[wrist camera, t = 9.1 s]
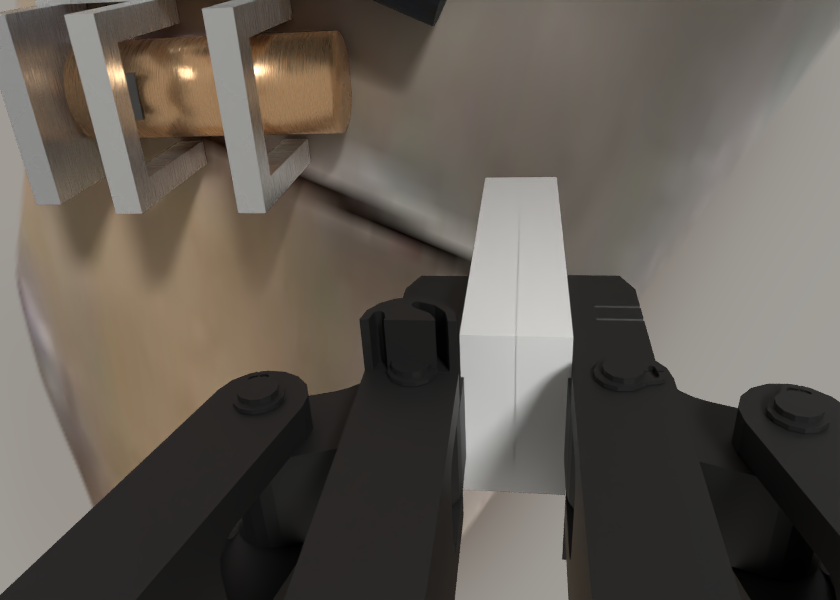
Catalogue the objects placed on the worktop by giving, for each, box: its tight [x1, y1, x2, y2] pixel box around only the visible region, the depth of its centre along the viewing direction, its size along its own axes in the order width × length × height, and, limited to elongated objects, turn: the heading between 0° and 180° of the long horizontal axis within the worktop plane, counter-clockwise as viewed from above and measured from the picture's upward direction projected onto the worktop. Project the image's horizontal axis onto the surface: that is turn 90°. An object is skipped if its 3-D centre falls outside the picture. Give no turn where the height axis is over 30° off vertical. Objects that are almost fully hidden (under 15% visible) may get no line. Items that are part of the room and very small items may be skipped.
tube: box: [63, 31, 352, 138], centre depth 33 cm, size 12×4×4 cm, turn 93°
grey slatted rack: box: [0, 0, 311, 214], centre depth 32 cm, size 11×9×7 cm
